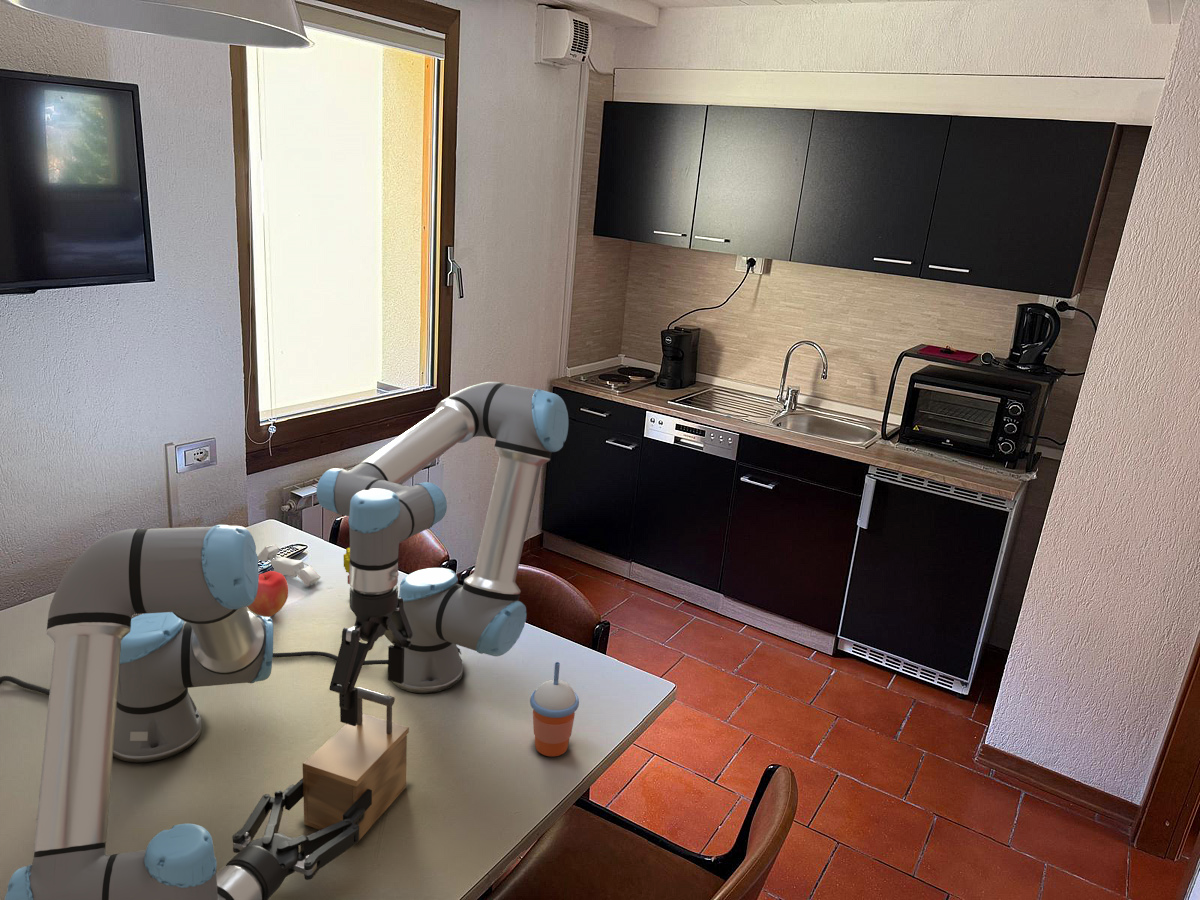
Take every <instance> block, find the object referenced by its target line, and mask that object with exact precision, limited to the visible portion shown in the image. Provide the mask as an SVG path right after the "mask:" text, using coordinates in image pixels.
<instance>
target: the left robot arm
mask: <svg viewBox="0 0 1200 900" xmlns="http://www.w3.org/2000/svg"><path fill="white" fill-rule="evenodd" d="M257 556H258V553H257V547H256V541H255V538H254V536H253V535H252V533H251V531H250V530H249V529H247V528H246V527H244V526H240V525H228V524H216V525H213V526H194V527H193V526H190V527H188V526H187V527H167V528H166V527H163V528H162V527H161V528H127V529H121V530H118V531H114V532H111V533H109V534H108V535H105V536H103V537H102V538H100V539H98V540H96V541H95V542H94V543H91V545H90V546H88V548H87V549H86V550H84V551H83V552H81V554H80V555H79V556H78V557H77V558H76V559H75V561H74V562H73V563H72V564H71V566H70V567H69V568H68V569H67V570H66V572H65V573H64V575H63V576H62V577H61V578H62V579H61V580H60V582H59V584H58V585H57V588H56V589H55V592H54V594H53V597H52V600H51V602H50V604H49V605H50V606H49V608H48V615H47V623H46V624H47V625H46V635H47V636H48V637H49V638H50V639H51V640H52V641H53V642H54V647H53V655H52V656H53V657H52V664H51V673H50V675H51V676H50V685H49V688H46V687H43V686H40V685H36V684H32V683H30V682H27V681H24V680H21V679H19V678H18V677H14V676H11V675H3V676H0V684H1V683H3V682H8V683H9V682H10V683H12V684H14V685H16V686H19V687H22V688H25V689H27V690H30V691H34V692H38V693H41V694H44V695H47V696H48V705H47V706H48V707H47V715H46V725H45V734H44V735H45V736H44V744H43V745H44V746H43V753H42V754H43V756H42V764H41V765H42V766H41V775H40V784H39V794H38V805H37V815H36V825H35V834H34V844H33V859H32V864H31V863H29V865H26V866H22V867H19V868H18V869H16V870H15V871H14V872H13V874H12V875H11V877H10V879H9V881H8V884H7V890H6V893H5V895H4V900H269V899H270V898H271V897H272V896H273V894H275V892H277V890H278V889H279V888H280V887H281V885H282V884H283V882H284V880H285V879H286V877H288V876H290V875H292V874H294V873H296V872H297V873H300V874H304V880H306V881H310V880H312V879H313V878H314V877H315V876H316V874H317V873H318V872H319V870H320V869H322V868H323V867H325V866H326V865H328V864H329V863H331V862H332V861H333V860H335V859H337V858H338V857H340V855H341V856H342V854H343V853H345V852H346V851H349V849H351V848H353V847H354V846H355V845H357V844H358V843H360V840H359V826H358V824H359V823H360V822H361V821H362V820H363V819H364V816H365V811H366V810H367V809H368V808H369V807H370V806H371V805H372V790H370V789H367V790H366V791H365V792H364V793H363V794H362V795H361V797H360V798H359V799H358V800H357V801H356V802H355V803H354V804H353V805H352V806H351V807H350V808H349V809H348V810H347V811H346V812H345V813H344V814H343V820H342V821H340V822H337V823H335V824H333V825H331V826H328V827H326V828H324V829H321V830H317V831H315V832H312V833H310V834H307V835H305V834H301V835H299V836H297V837H293V836H287V835H285V834H284V833H283V832H280V827H281V821H282V816H283V814H284V809H285V810H287V811H290V810H292V808H294V806H295V805H297V803H299V802H300V800H302V799H303V777H302V778H301V779H300V780H299V781H298V782H296V783H295V784H290V785H289V786H288V787H287V788H285V790H276V791H275V792H274V796H271V794H269V793H265V794H262V796H261V797H260V800H259V801H258V802H257V804H256V806H255V807H254V809H253V810H252V811H251V813H250V815H249V817H248V818H247V820H246V821H245V823H244V825H243V826H242V827H241V828H240V829H239V830H238V831H236V833H234V834H233V835H232V838H231V839H232V852H233V853H235V855H234V856H233V857H232V858H231V859H230V860H229V861H228V862H227V863H226V864H225V865H224V866H223V867H221V868H220V869H219V870H218V871H217V858H216V856H215V850H214V843H213V837H212V835H211V833H210V832H209V830H208V829H206V828H205V827H204V826H202V825H200V824H195V823H179V824H175V825H173V826H172V827H171V828H169V829H163V830H161V831H159V832H158V833H157V834H155V835H154V836H153V837H152V838H151V840H150V841H149V842H148V844H147V846H146V848H145V849H143V850H135V851H129V852H122V853H113V854H106V844H107V839H108V838H107V837H108V824H109V812H110V810H109V808H110V798H111V785H112V784H111V783H112V769H113V757H115V758H116V759H118V760H121V761H124V762H128V763H148V762H156V761H161V760H165V759H167V758H170V757H173V756H175V755H177V754H179V753H182V752H184V751H185V750H186V749H188V748H189V747H191V746H192V745H193V744H194V743H195V742H196V741H197V740H198V739H199V737H200V735H201V734H202V730H203V724H202V717H201V714H200V711H199V710H198V708H197V706H196V704H195V702H194V700H193V698H192V696H191V694H190V692H189V689H190V688H199V687H201V688H202V687H210V686H211V687H212V686H225V685H237V684H254V683H255V682H262V681H263V682H264V681H265V680H268V678H270V676H271V674H272V668H273V658H272V657H273V653H274V620H273V619H272V617H271V616H270V617H264V616H260V615H256V614H255V613H253V612H252V611H250V610H249V609H248V607H247V606H249V605H251V604H252V603H253V602H254V599H255V598H256V595H257V591H258V582H259V574H260V570H259V569H260V567H259V566H258V557H257ZM134 615H135V616H134ZM268 815H269V818H268V823H267V824H266V826H265V830H264V835H262V837H259V838H257V839H254V838H255V836H256V835H257V833H258V831H259V830H260V828H261V827H262V825H263V824H264V822H265V820H266V818H267V817H268ZM343 830H344V831H343ZM253 839H254V840H253Z"/></svg>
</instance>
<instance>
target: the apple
mask: <svg viewBox="0 0 1200 900" xmlns="http://www.w3.org/2000/svg"><path fill="white" fill-rule="evenodd" d="M288 597H289V584H288V581H287V579H286V577H285V575H282V574H281V573H278V572H275V571H268V570H267V571H266V572H264V573H259V582H258V591H257V595H256V598H255V599H254V602H253V603H252V604H251V605H249V606H247V610H248V611H249V612H251V613H252V614H254V615H256V616H263V617H270V618H271V617H273V616H275V615H276V614H278V613H279V612H280V611H281V610H282V609H283V607H284V606H285V605H286V603H287V600H288Z"/></svg>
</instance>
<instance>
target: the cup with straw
mask: <svg viewBox="0 0 1200 900" xmlns="http://www.w3.org/2000/svg"><path fill="white" fill-rule="evenodd" d="M560 666H561V663H560V662H559V661H555V662H554V669H553V670H554V671H553V679H549V680H546V681H544V682H542V683H541V684H540V685H539V686H538V687H537V688H536V689H535V690H533V692H532V693H531V694H530V698H529V703H530V707H531V708H532V709H533V710H532V724H533V727H532V728H533V735H534V747H535V750H536V751H537V752H538V753H539V754H541V755H542V756H547V757H558V756H561V755H564V753H565V752H567V750H568V747H569V742H570V738H571V736H572V733H573V727H574V722H575V721H574V720H575V716H576V713H575V712H576V711H577V710H578V708H579V705H580V698H579V696H578V694H577V693H576V691H574V689H573V687H572V686H571V685H570V684H569V683H568V682H566V681H563V680H562V679H561V680H560V679H559V678H560Z"/></svg>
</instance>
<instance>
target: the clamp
mask: <svg viewBox="0 0 1200 900" xmlns="http://www.w3.org/2000/svg"><path fill="white" fill-rule="evenodd" d="M280 549H281V547H279V546H278V545H277V544H272V545H266V546H264V547H263V549H262V550H261V551H260V552H259V554H257V557H258V561H259V560H262V561H268V560H271V562H270V563H269V564H271V565H272V566H273V568H274V571H275V572H278V573H281V574H282V575H283V576H288V577H292V578H296V577H298V578H299V579H300V580H301V582H303V584H304V585H305V587H309V586H312V585H314V584H316V583H318V582H319V580H320V579H321V578H322V577H321V575H320V574H319V573H318V572H317V570H315V569H314V568H313V566H312V565H310V564H309V565H308V564H307V563H305V562H304V561H303V560H301V559H300V560H299V559H292V558H289V557H285V556H278V553H279V551H280ZM273 558H274V559H273ZM272 559H273V560H272ZM305 566H306V567H305ZM270 571H271V570H270Z"/></svg>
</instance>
